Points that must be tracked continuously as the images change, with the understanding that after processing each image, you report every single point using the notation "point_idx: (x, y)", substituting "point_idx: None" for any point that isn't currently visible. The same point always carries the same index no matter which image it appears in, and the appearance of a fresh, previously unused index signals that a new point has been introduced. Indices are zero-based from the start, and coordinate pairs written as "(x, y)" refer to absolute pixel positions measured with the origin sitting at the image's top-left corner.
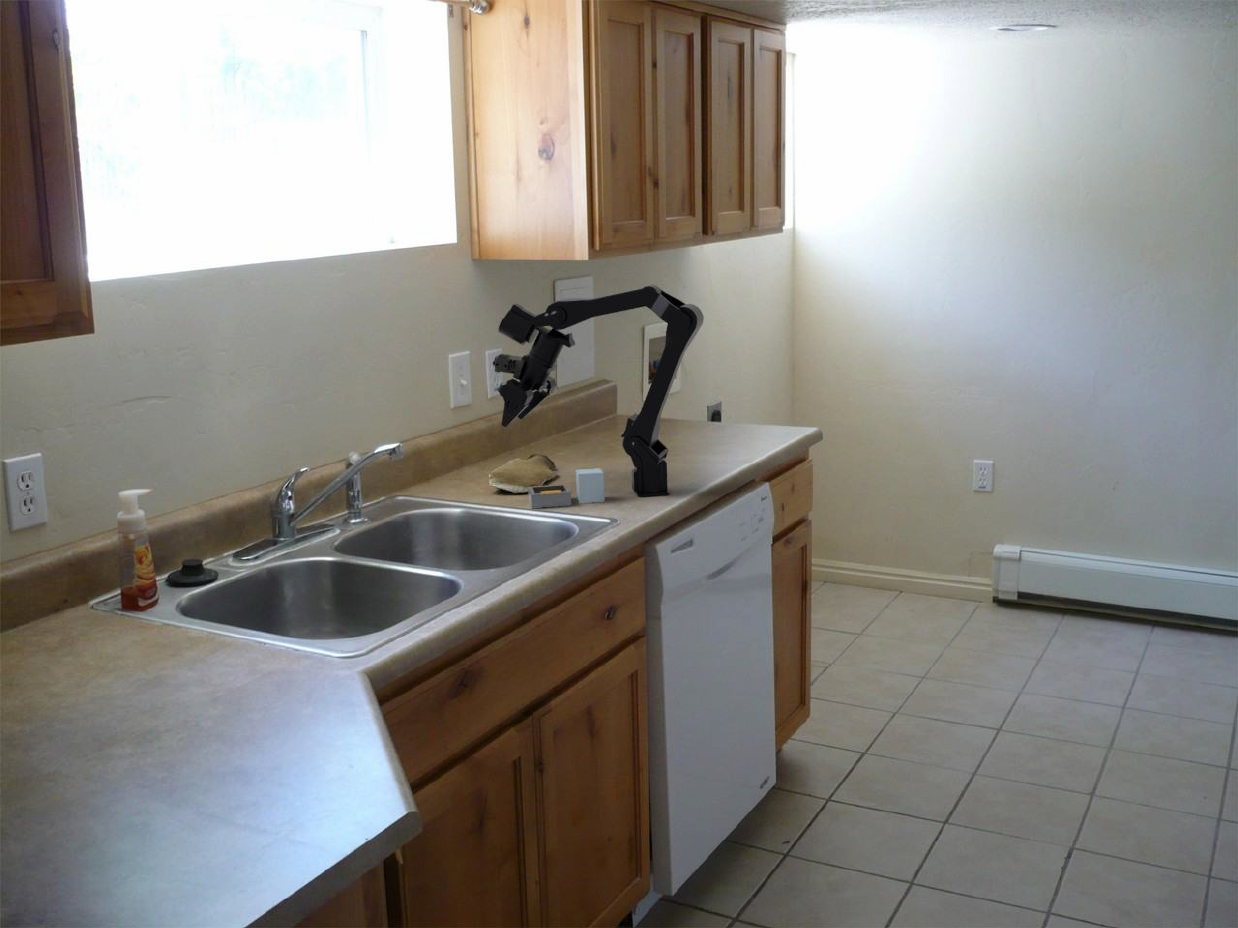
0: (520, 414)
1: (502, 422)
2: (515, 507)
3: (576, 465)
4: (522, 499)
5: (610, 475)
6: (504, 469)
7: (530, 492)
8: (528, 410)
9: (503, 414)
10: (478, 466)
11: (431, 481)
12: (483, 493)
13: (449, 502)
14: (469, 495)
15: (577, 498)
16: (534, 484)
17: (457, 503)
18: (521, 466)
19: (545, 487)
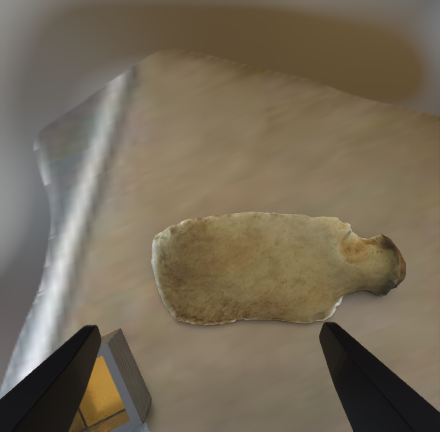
0: (333, 348)
1: (70, 342)
2: (65, 321)
3: (421, 321)
4: (128, 312)
5: (347, 424)
6: (250, 233)
7: None
8: (355, 419)
9: (5, 398)
10: (381, 123)
11: (247, 79)
12: (166, 216)
13: (90, 178)
14: (148, 195)
15: (135, 429)
16: (197, 317)
17: (84, 196)
18: (297, 255)
19: (115, 381)
